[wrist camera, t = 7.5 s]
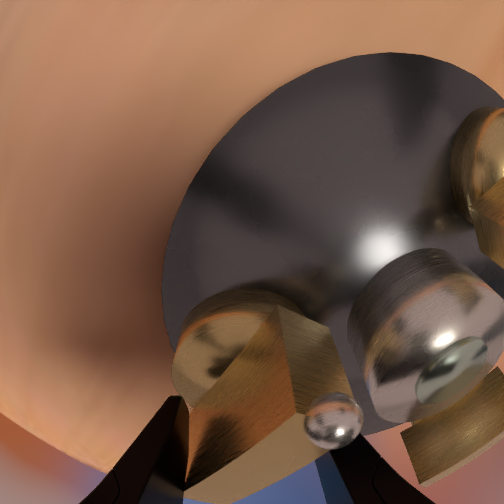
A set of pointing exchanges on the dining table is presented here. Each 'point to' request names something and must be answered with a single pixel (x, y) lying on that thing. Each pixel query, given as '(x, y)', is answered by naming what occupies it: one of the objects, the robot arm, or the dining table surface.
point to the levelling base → (369, 239)
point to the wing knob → (258, 393)
